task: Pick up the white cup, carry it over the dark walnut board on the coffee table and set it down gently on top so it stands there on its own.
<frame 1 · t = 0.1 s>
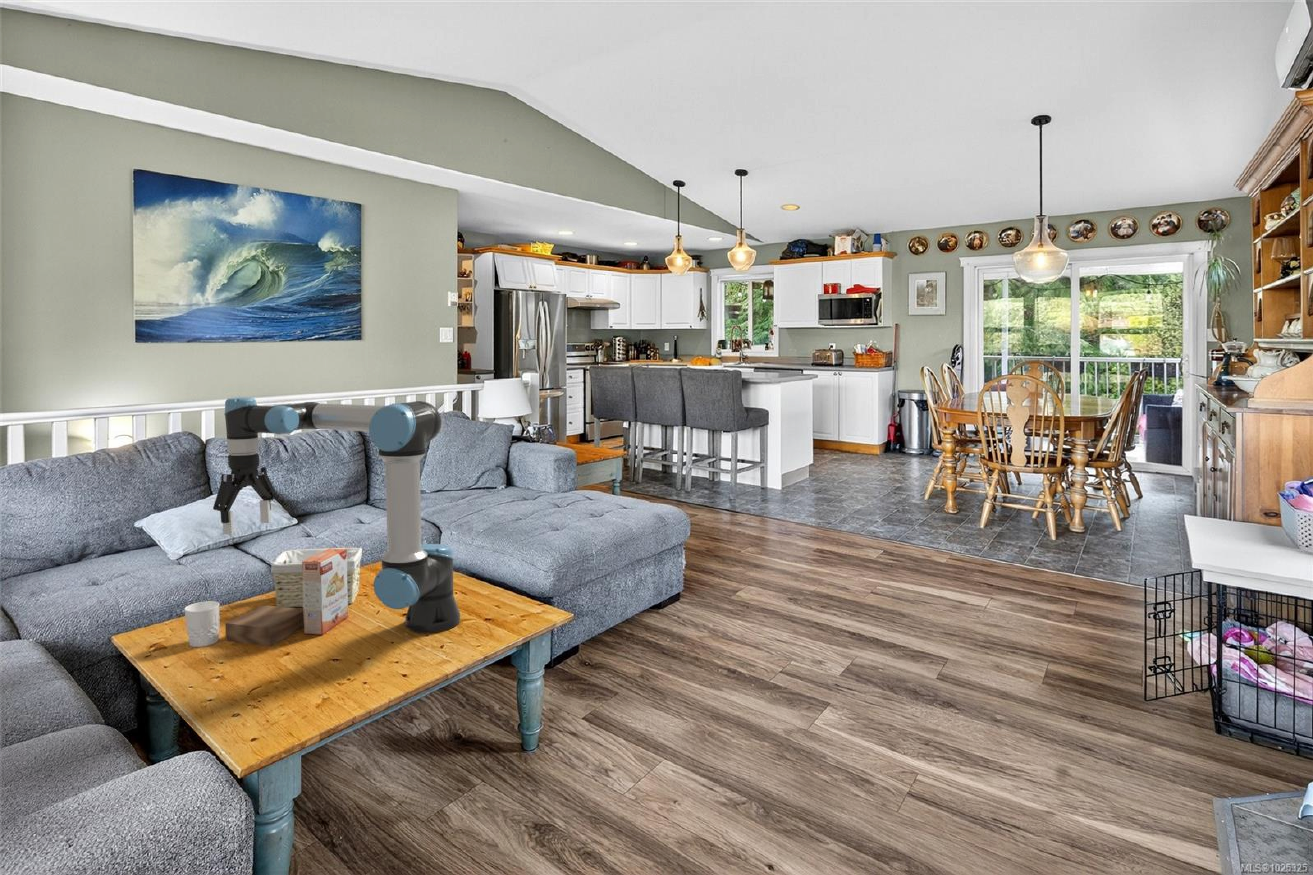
hand: (247, 528, 200), 28 cm above the table, fingers open, 13 cm apart
cracker box: (327, 626, 204), on the table
white cup: (204, 642, 191), on the table
storage basket: (320, 600, 225), on the table
walnut block: (267, 633, 197), on the table
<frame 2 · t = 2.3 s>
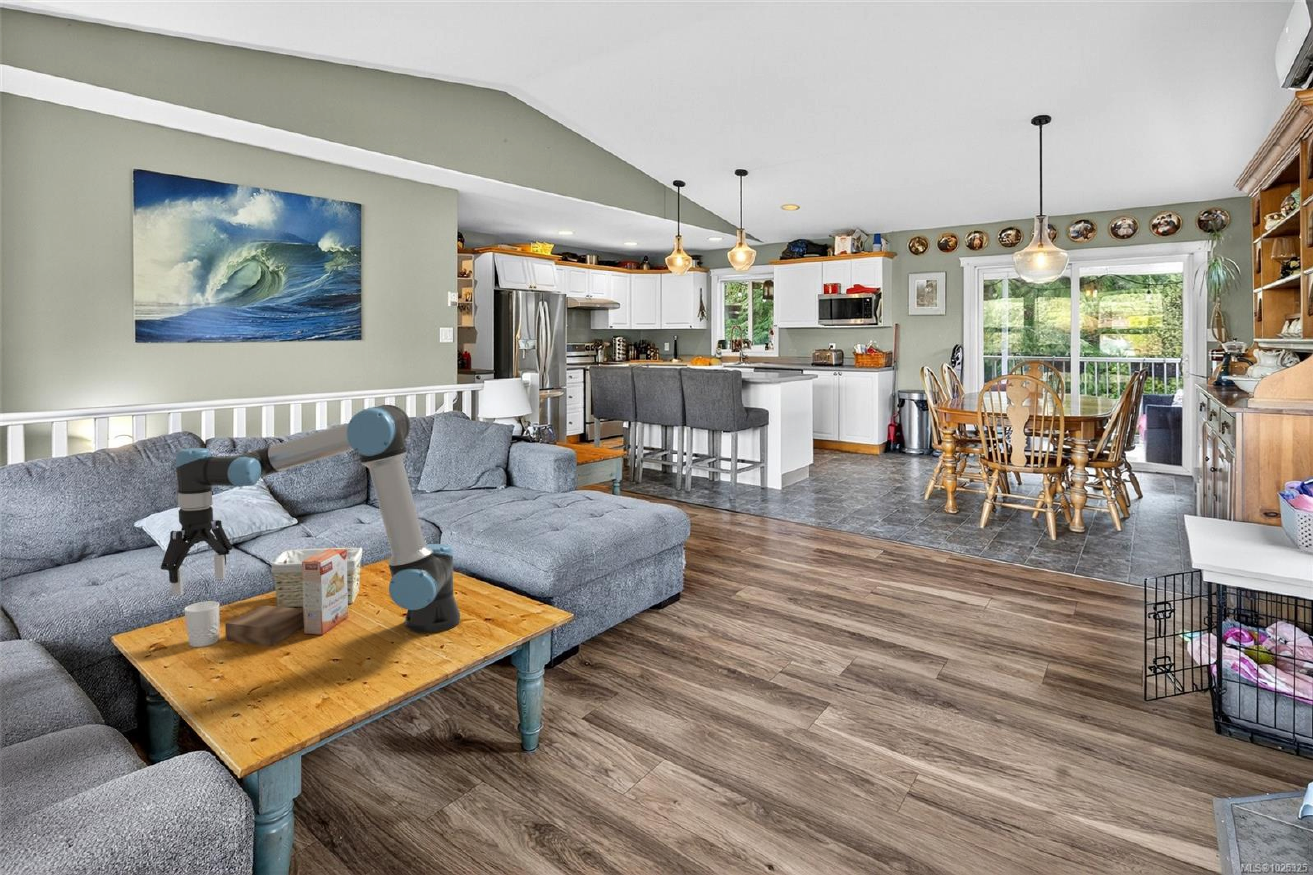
hand: (199, 586, 189), 16 cm above the table, fingers open, 13 cm apart
nothing on the table moved.
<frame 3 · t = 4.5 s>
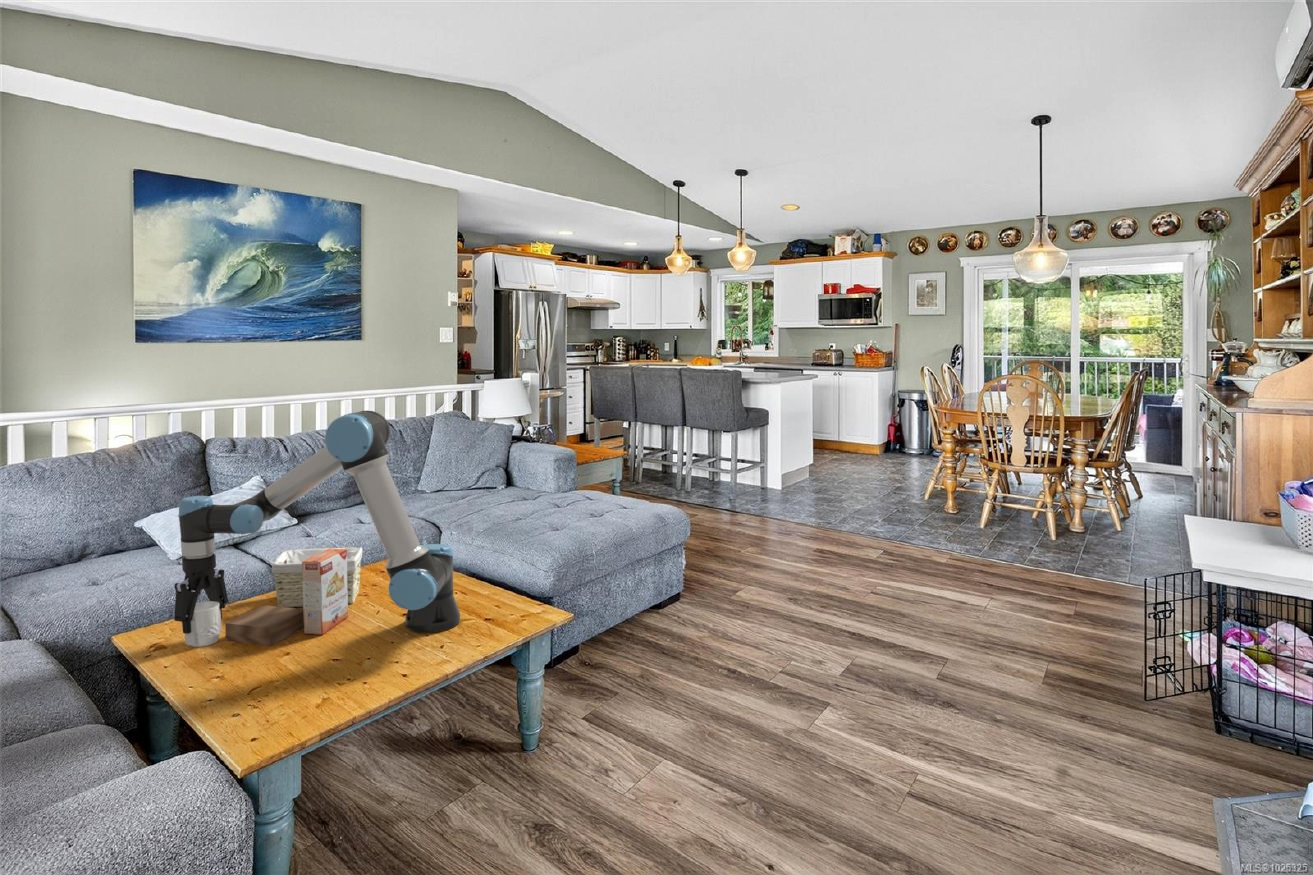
hand: (203, 637, 191), 1 cm above the table, fingers closed on white cup, 8 cm apart
white cup: (204, 642, 191), on the table, touching gripper
everything else where it was.
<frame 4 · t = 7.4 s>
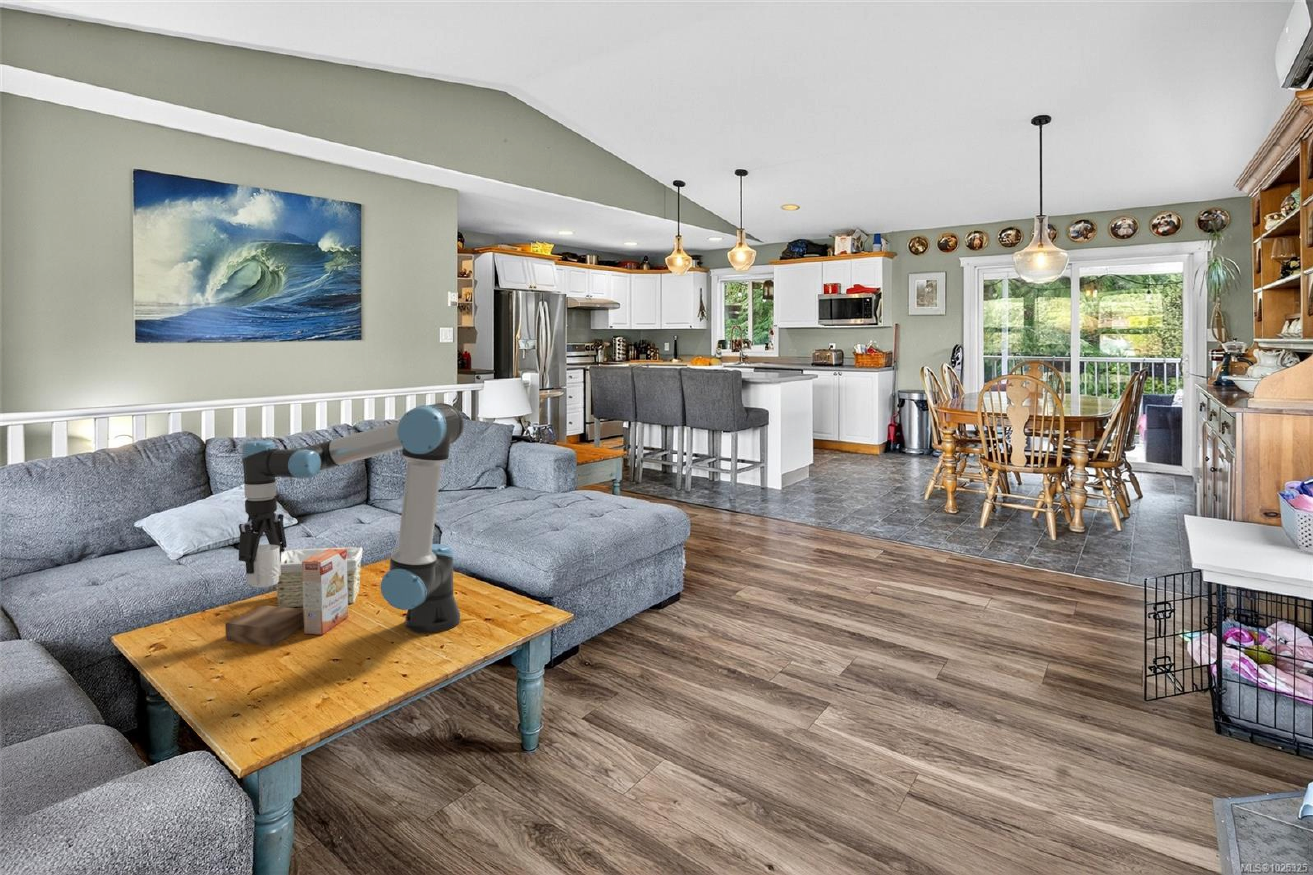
hand: (264, 579, 196), 15 cm above the table, fingers closed on white cup, 8 cm apart
white cup: (265, 584, 196), point 14 cm above the table, touching gripper
everything else where it was.
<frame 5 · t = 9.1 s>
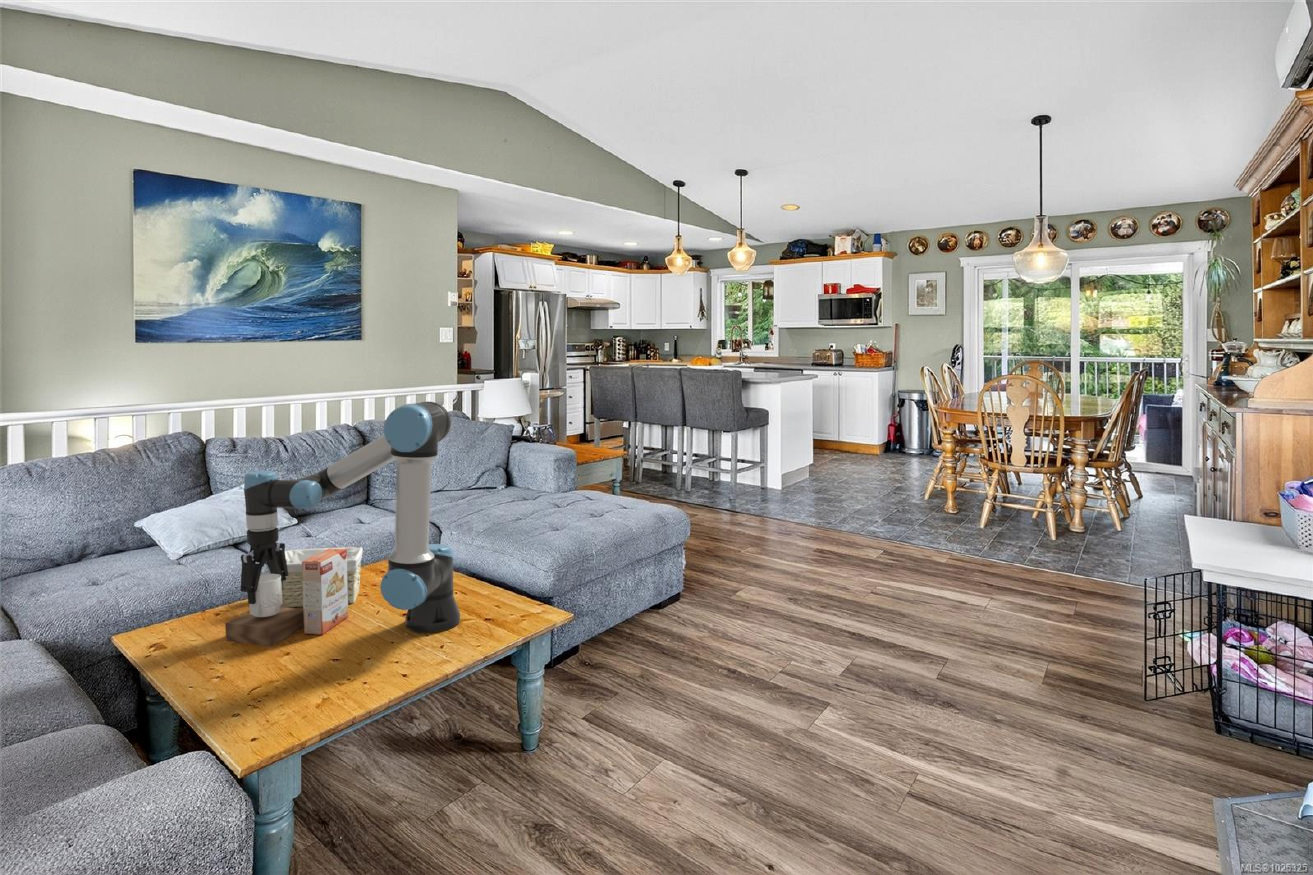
hand: (266, 609, 197), 7 cm above the table, fingers closed on white cup, 8 cm apart
white cup: (266, 613, 197), point 6 cm above the table, touching gripper
everything else where it was.
when the fingers open (7 cm above the table, at t = 10.4 s): white cup stays where it is, resting on walnut block.
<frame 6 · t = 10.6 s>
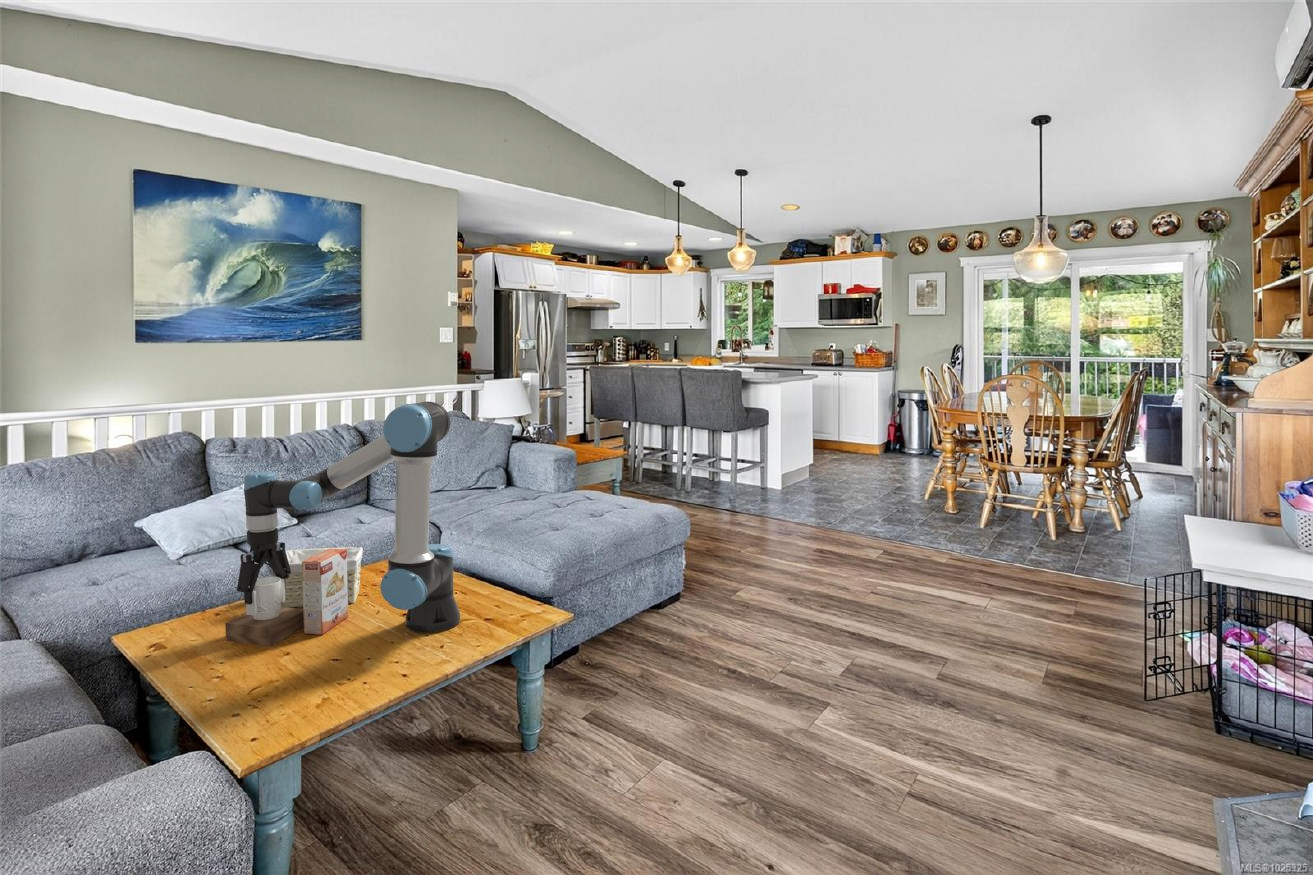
hand: (266, 607, 196), 7 cm above the table, fingers open, 10 cm apart
white cup: (267, 616, 197), point 5 cm above the table, touching walnut block
everything else where it was.
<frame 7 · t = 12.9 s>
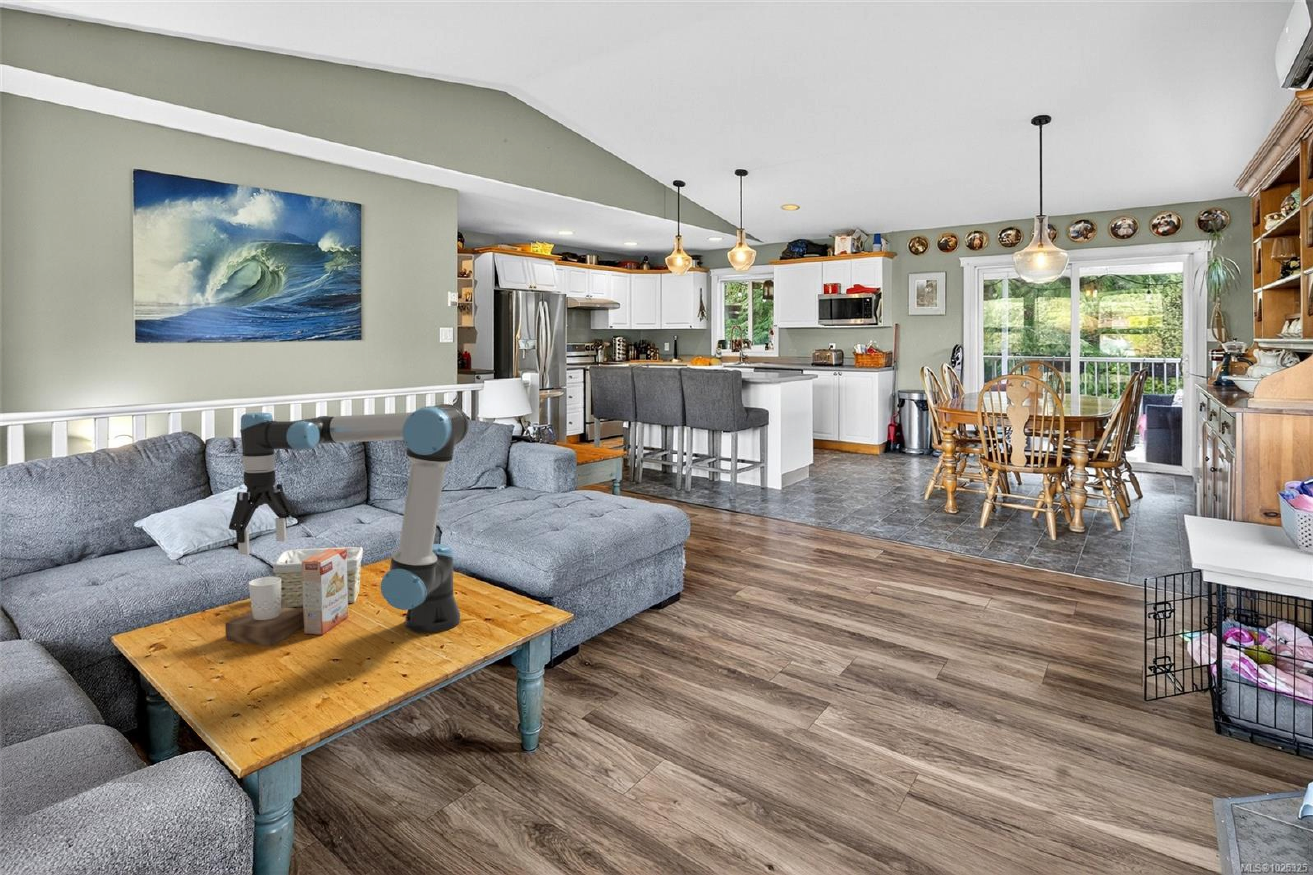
hand: (263, 547, 194), 24 cm above the table, fingers open, 13 cm apart
nothing on the table moved.
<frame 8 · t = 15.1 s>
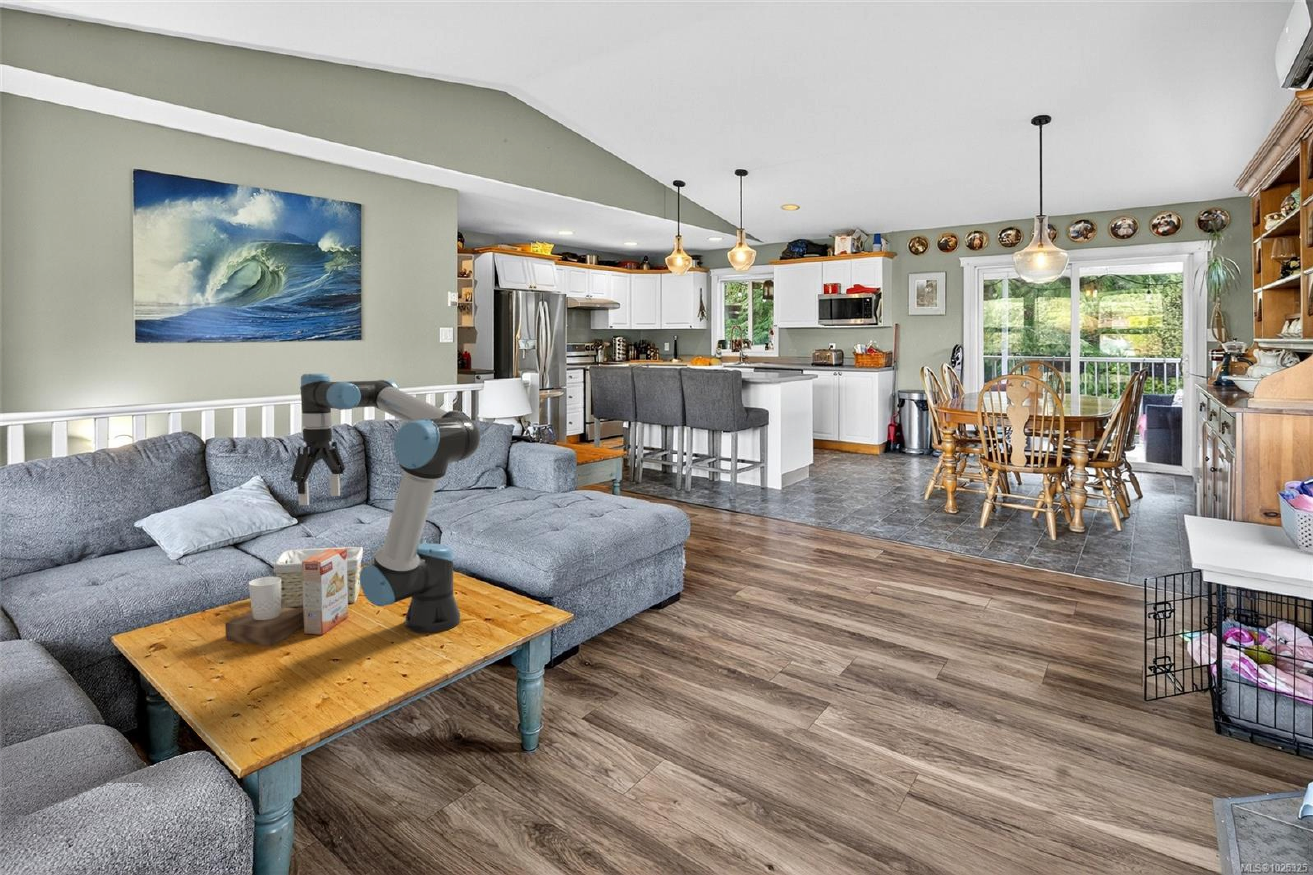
hand: (320, 500, 208), 35 cm above the table, fingers open, 13 cm apart
nothing on the table moved.
at the end: white cup inside the target area on the walnut block (0.0 cm from its centre), point 4.8 cm above the walnut block's base; white cup tilted 0°; the gripper is holding nothing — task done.
